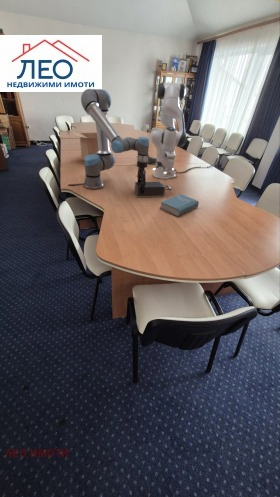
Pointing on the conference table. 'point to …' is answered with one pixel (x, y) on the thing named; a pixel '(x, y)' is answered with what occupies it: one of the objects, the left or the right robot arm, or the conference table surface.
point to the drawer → (166, 189)
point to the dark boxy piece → (149, 189)
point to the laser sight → (151, 160)
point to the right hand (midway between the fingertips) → (165, 172)
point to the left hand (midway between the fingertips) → (140, 190)
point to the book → (179, 204)
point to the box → (87, 142)
